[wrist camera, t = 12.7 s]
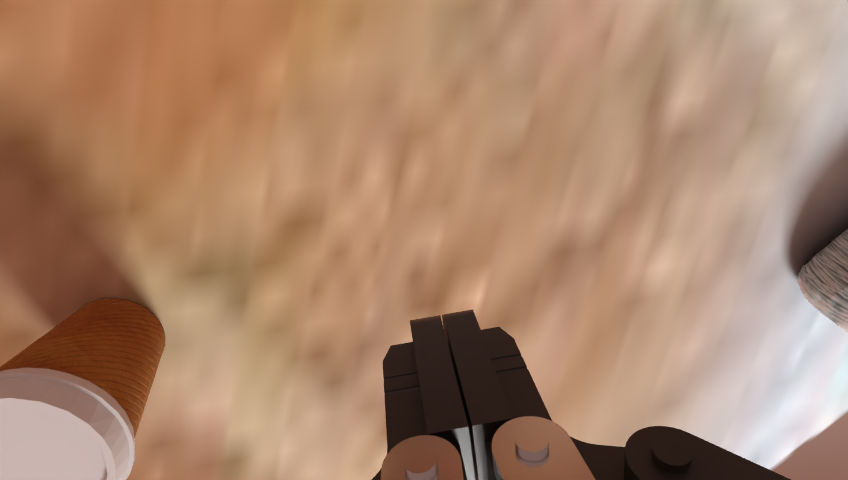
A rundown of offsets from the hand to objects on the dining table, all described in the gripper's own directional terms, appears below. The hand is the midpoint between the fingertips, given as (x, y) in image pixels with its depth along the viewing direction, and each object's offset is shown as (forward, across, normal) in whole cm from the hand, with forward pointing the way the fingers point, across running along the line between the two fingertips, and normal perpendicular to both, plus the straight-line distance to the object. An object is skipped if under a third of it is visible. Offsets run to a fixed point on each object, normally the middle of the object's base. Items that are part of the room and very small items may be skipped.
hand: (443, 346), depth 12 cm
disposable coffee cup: (+23, +22, +11) cm, 34 cm away
